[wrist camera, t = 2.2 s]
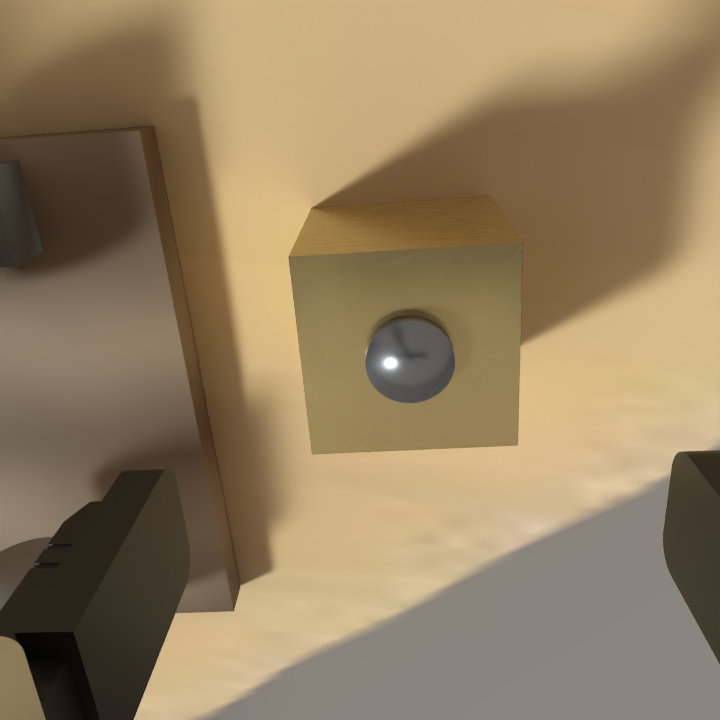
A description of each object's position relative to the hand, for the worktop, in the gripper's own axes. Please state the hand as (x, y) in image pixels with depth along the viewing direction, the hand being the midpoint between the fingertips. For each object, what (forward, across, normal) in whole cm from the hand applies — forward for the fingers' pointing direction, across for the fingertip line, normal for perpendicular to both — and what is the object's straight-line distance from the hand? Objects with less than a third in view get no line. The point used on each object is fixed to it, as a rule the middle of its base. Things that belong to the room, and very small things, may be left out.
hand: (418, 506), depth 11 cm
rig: (+10, +12, +2) cm, 16 cm away
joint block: (+10, 0, -1) cm, 10 cm away
